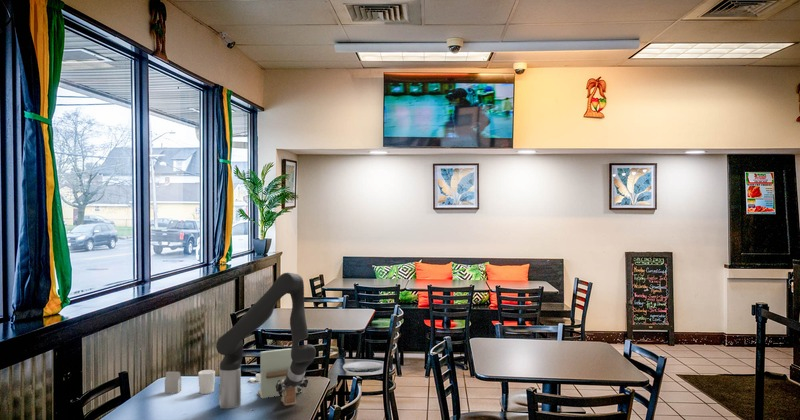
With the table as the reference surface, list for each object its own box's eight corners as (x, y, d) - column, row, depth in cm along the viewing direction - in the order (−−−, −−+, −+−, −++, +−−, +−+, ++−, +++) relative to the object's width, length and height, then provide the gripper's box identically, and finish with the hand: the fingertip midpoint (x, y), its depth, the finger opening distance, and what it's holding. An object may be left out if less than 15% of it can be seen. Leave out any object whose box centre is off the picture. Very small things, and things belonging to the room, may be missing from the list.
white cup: (217, 389, 283) (217, 369, 283) (210, 394, 275) (210, 374, 275) (202, 389, 284) (202, 369, 284) (195, 394, 276) (195, 373, 276)
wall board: (303, 393, 275) (303, 349, 276) (262, 400, 266) (262, 353, 267) (297, 388, 285) (297, 344, 285) (257, 393, 276) (257, 349, 276)
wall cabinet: (296, 404, 260) (296, 383, 260) (286, 406, 257) (285, 384, 258) (291, 399, 268) (291, 378, 268) (281, 400, 265) (280, 379, 265)
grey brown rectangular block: (178, 393, 278) (178, 373, 278) (164, 393, 278) (164, 372, 278) (181, 390, 282) (181, 370, 282) (168, 390, 282) (168, 370, 282)
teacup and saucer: (246, 382, 296) (246, 374, 296) (257, 378, 303) (257, 371, 303) (259, 384, 292) (259, 377, 292) (269, 380, 299) (269, 373, 299)
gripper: (309, 364, 257) (302, 382, 267) (278, 368, 251) (272, 387, 261) (313, 378, 253) (305, 397, 263) (281, 383, 246) (275, 401, 256)
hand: (289, 392), depth 262 cm, fingers open, 8 cm apart
